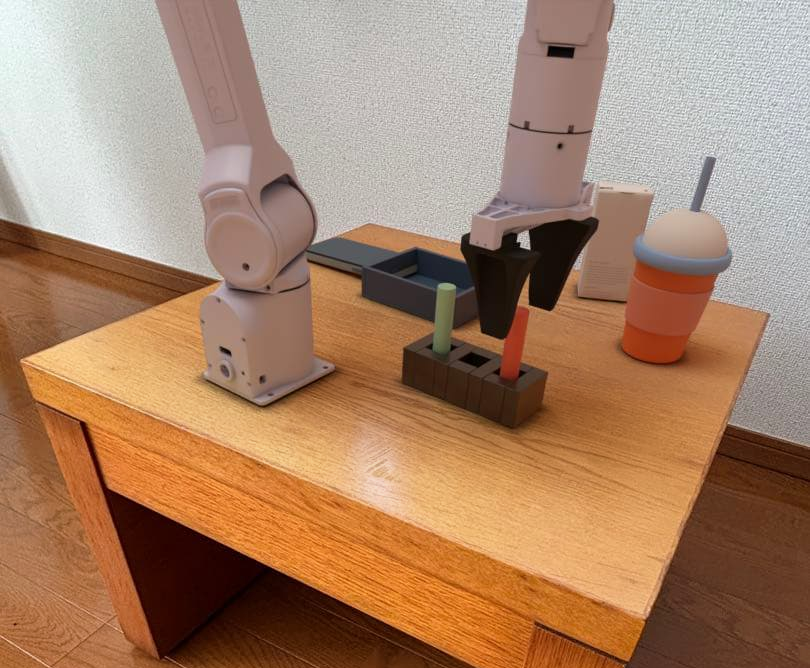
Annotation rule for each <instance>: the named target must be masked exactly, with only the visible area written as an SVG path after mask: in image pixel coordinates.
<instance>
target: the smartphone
mask: <svg viewBox="0 0 810 668" xmlns="http://www.w3.org/2000/svg"><path fill="white" fill-rule="evenodd" d="M397 253H400V252H398V251H395V250H390V249H387V248H383V247H379V246H375V245H372V244H368V243H364V242H359V241H356V240H353V239H348V238H344V237H340V236H339V237H331V238H328V239H325V240H322V241H319V242H315V243H312V245H311V246H310V247H309V248H308V249H307V250H306V260H307V261H311V262H314V263H318V264H322V265H325V266H328V267H332V268H336V269H338V270H343V271H346V272H348V273H353V274H356V275H360V276H362V266H365V265H368V264H370V263H373V262H376V261H378V260H381V259H384V258H386V257H389V256H392V255H394V254H397ZM416 271H417V263H416V262H413V263H411V264H408V265H406V266H403V267H401V268H398V269H396V270H394V271H391V272H390V273H389V274H392V275H395V276H399V277H402V278H403V277H405V276H408V275H410V274H412V273H415V272H416Z"/></svg>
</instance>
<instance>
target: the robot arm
mask: <svg viewBox="0 0 810 668" xmlns="http://www.w3.org/2000/svg"><path fill="white" fill-rule="evenodd" d="M154 3H155V6H156V10H157V12H158V15H159V18H160V21H161V25H162V27H163V30H164V33H165V36H166V40H167V43H168V45H169V49H170V52H171V54H172V58H173V61H174V63H175V68H176V70H177V74H178V76H179V79H180V82H181V85H182V88H183V91H184V95H185V97H186V101H187V103H188V106H189V109H190V113H191V116H192V118H193V122H194V124H195V128H196V131H197V133H198V137H199V140H200V143H201V146H202V149H203V152H204V163H203V166H202V171H201V176H200V179H199V184H198V190H197V195H198V199H199V202H200V204H201V208H202V211H203V212H202V213H203V217H204V229H203V240H204V241H203V243H204V247H205V248H204V249H205V252H206V254H207V257H208V260H209V262H210V263H211V265H212V266H213V268H214V270H215V271H216V272H217V273H218V274H219V275H220V276H221V277H222V278H223V280H222V282H221V284H220V285H219V286H218V287H217V288H216V289H215V290H214V291H212V292H211V293H209V294H207V295H206V296H204V298H203V299H202V300H201V302H200V305H199V309H198V311H199V314H198V316H199V324H200V329H201V335H202V343H203V348H204V354H205V360H206V366H207V370H206V371H204V372H203V378H204V379H206V380H208V381H210V382H212V383H214V384H216V385H218V386H220V387H222V388H224V389H226V390H228V391H230V392H232V393H234V394H236V395H238V396H240V397H242V398H244V399H246V400H248V401H250V402H252V403H254V404H256V405H258V406H266V405H269V404H270V403H272V402H274V401H276V400H278V399H280V398H282V397H285V396H286V395H288V394H290V393H293V392H294V391H296V390H298V389H300V388H302V387H304V386H306V385H308V384H310V383H312V382H315V381H316V380H318V379H320V378H322V377H324V376H326V375H328V374H330V373H333V372H334V371H335V365H334V364H333V363H331V362H329V361H326V360H324V359H321V358H319V357H316V356H315V344H314V341H315V340H314V322H313V321H314V319H313V302H312V301H313V300H312V282H311V281H312V279H311V268H310V265H309V263H308V260H307V259H306V250H307V249H308V248H309V247H310V246H311V245H312V244H314V241H315V239H316V237H317V233H318V227H319V220H318V213H317V208H316V207H315V204H314V202H313V199H312V198H311V196H310V194H308V193H307V191H306V190H305V189H304V187H303V186H302V184H301V182H300V180H299V178H298V175H297V173H296V170H295V166H294V161H293V159H292V158H291V157H290V155H289V154H288V153H287V151H286V150H285V149H284V147H283V146H281V145H280V143H279V142H278V141H277V140H276V138H275V136H274V133H273V130H272V126H271V123H270V118H269V115H268V110H267V107H266V102H265V100H264V96H263V92H262V87H261V85H260V80H259V77H258V74H257V71H256V66H255V63H254V59H253V55H252V51H251V48H250V44H249V40H248V37H247V33H246V29H245V26H244V22H243V18H242V13H241V10H240V7H239V2H238V0H154ZM525 10H526V11H525V18H524V26H523V33H522V35H521V36H520V38H519V40H518V43H517V50H516V51H517V53H516V60H515V67H514V75H513V83H512V91H511V100H510V106H509V115H508V122H507V131H506V138H505V146H504V153H503V161H502V167H501V176H500V184H499V191H497V192H496V193H495V194H494V196H493V197H492V198H491V199H490V200H489V201H488V203H487V204H486V205H485V206H484V207H483V208H482V209H480V210H479V211H477V212H474V213H472V214H471V224H470V231H469V232H467V233H464V234H462V235H461V238H460V246H459V247H460V249H459V251H460V252H461V255H462V256H463V258H464V261H465V262H466V263H467V265H468V268H469V271H470V274H471V277H472V280H473V284H474V288H475V293H476V299H477V306H478V314H479V316H478V320H479V321H478V322H479V329H480V333H481V334H483V335H485V336H489V337H491V338H495V339H497V340H500V341H503V340H505V338H507V336H508V334H509V332H510V329H511V327H512V323H513V320H514V316H515V312H516V308H517V306H518V304H519V301H520V297H521V295H522V291H523V288H524V285H525V284H526V282H527V279H528V291H527V293H528V294H527V295H528V306H531V307H534V308H538V309H540V310H544V311H547V312H552V311H554V309H555V307H556V305H557V303H558V301H559V299H560V297H561V294H562V293H563V290H564V287H565V286H566V283H567V281H568V278H569V276H570V274H571V271H572V269H573V267H574V266H575V264H576V262H577V261H578V258H579V257H580V255H581V253H582V251H584V248H585V245H586V244H587V242H588V241H589V240H590V238H591V237H592V236H593V235H594V233H595V232H596V231H597V229H598V224H599V220H598V219H597V218H595V217H591V214H592V210H593V204H591V201H592V199H593V193H594V188H595V182H592V181H586V180H584V177H585V176H584V175H585V170H586V166H587V160H588V156H589V151H590V146H591V143H592V142H591V141H592V137H593V131H594V126H595V122H596V117H597V112H598V107H599V103H600V102H599V101H600V96H601V92H602V87H603V82H604V77H605V72H606V68H607V62H608V58H609V53H610V43H609V41H608V34H609V32H610V31H611V29H612V27H613V24H614V19H615V14H616V3H615V0H527V1H526V9H525ZM524 232H528V238H529V248H525V247H521V245H522V242H521V241H518V238H519V237H518V236H519V235H520V234H522V233H524Z"/></svg>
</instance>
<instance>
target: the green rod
mask: <svg viewBox="0 0 810 668" xmlns="http://www.w3.org/2000/svg"><path fill="white" fill-rule="evenodd" d="M455 295H456V286H455V285H453V284H450V283H442V284H439V285H438V287H437V300H436V313H435V322H434V327H433V332H434V338H433V351H435V352H438V353H441V354H443V355H446V354H447V353H449V352H450V346H451V337H453V336H452V334H453V328H452V326H453V316H454V305H455Z"/></svg>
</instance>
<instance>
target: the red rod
mask: <svg viewBox="0 0 810 668" xmlns="http://www.w3.org/2000/svg"><path fill="white" fill-rule="evenodd" d="M529 318H530V309H529V308H528V307H525V306H520V305H517V308H516V312H515V316H514V320H513V323H512V327H511V329H510V332H509V334H508V336H507V338H505V339H504V345H503V351H502V355H503V357H502V363H501V369H500V376H501V377H503V378H506V379H509V380H511V381H513V382H514V381H515V380H517V379H518V375H519V369H520V364H521V362H522V357H523V353H524V347H525V340H526V335H527V330H528V329H527V328H528V323H529Z"/></svg>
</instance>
